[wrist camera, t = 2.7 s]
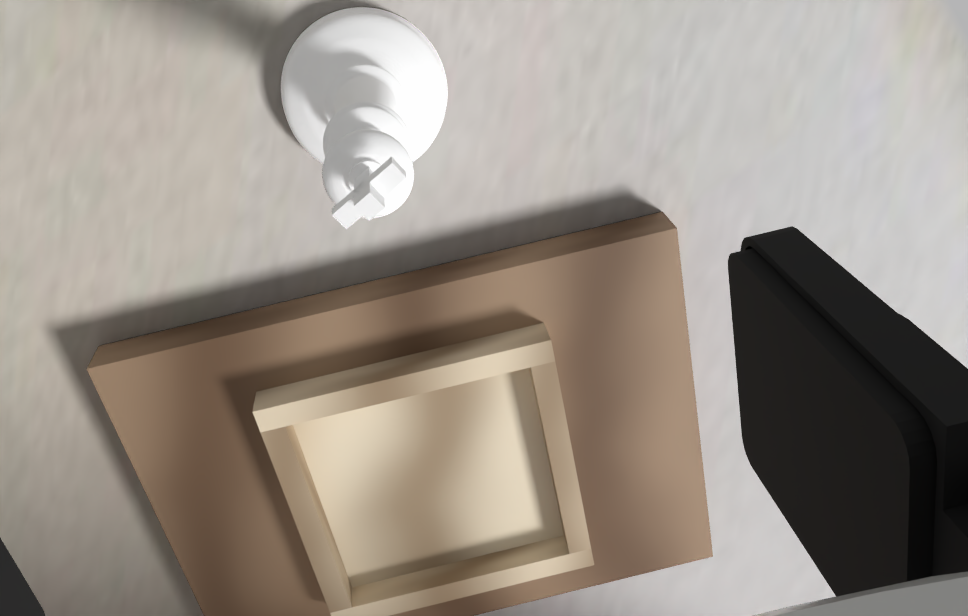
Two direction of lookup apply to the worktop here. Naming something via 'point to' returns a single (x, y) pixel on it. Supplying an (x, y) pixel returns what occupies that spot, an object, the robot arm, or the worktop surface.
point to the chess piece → (364, 106)
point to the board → (427, 433)
